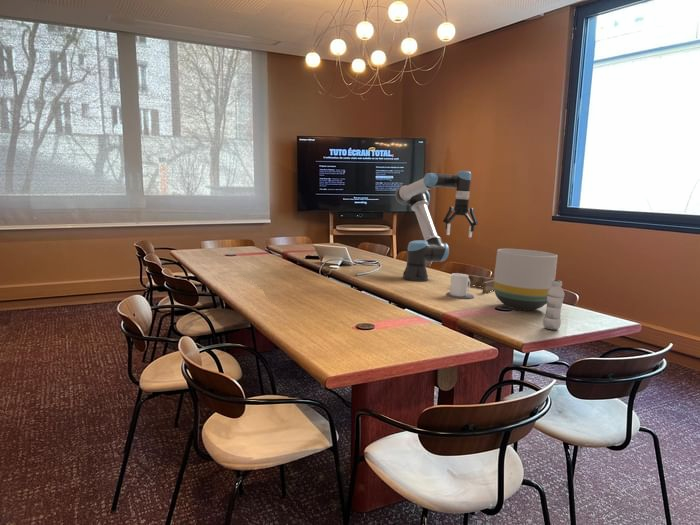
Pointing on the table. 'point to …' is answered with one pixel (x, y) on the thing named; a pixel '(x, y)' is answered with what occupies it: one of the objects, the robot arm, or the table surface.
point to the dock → (482, 282)
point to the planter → (524, 277)
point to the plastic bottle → (554, 306)
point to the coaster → (468, 296)
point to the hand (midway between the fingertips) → (458, 236)
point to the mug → (459, 284)
